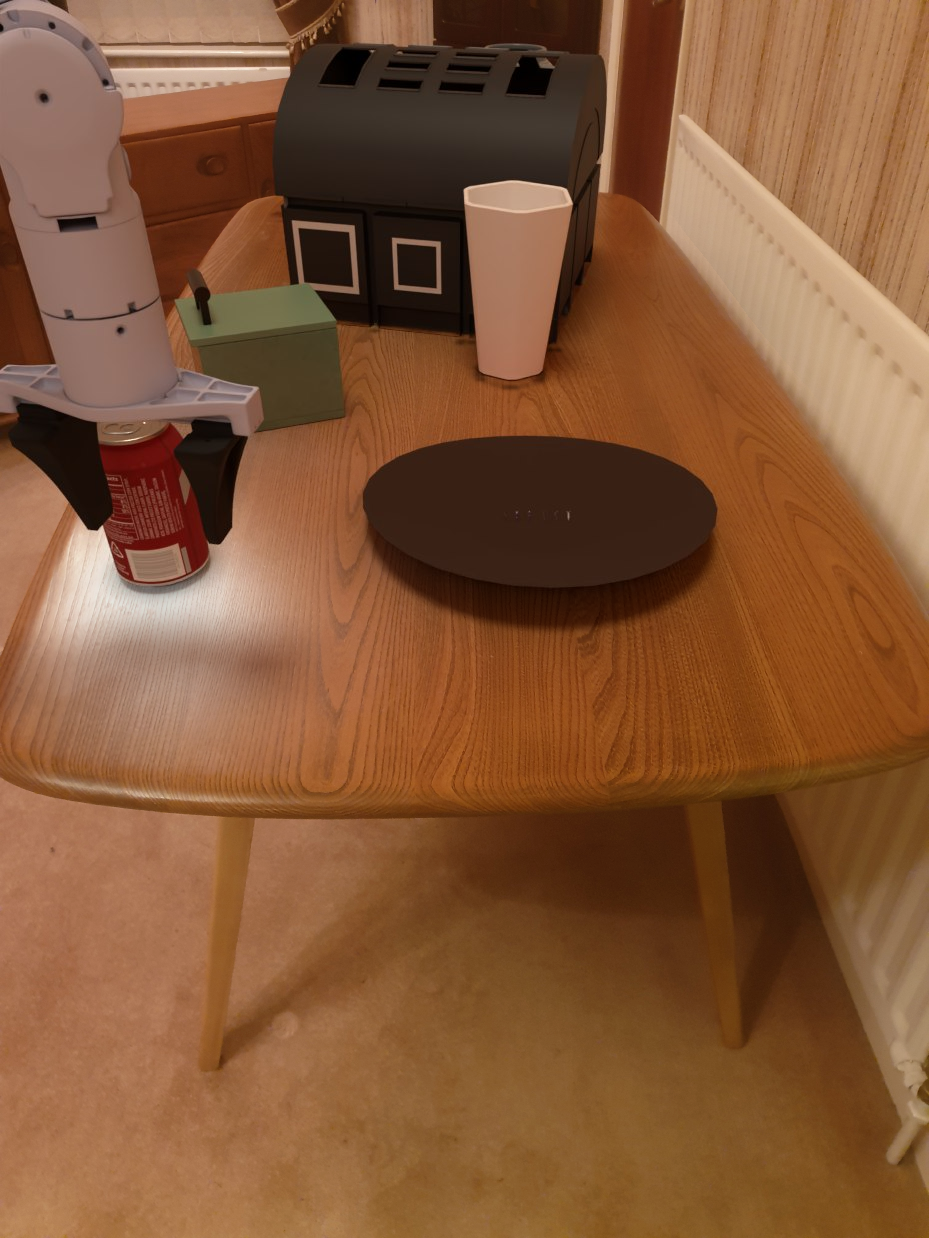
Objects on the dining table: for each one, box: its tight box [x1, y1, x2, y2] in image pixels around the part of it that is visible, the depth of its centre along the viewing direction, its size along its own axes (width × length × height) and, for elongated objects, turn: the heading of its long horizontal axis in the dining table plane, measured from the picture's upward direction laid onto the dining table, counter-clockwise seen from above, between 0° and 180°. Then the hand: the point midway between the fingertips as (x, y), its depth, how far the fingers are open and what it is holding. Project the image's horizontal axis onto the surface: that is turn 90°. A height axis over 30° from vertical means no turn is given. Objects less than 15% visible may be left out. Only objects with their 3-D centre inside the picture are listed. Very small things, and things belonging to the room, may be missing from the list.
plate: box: [362, 435, 718, 589], centre depth 69 cm, size 28×28×4 cm
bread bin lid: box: [174, 268, 338, 348], centre depth 79 cm, size 13×10×4 cm
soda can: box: [97, 420, 210, 588], centre depth 61 cm, size 7×7×12 cm
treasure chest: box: [272, 42, 608, 345], centre depth 104 cm, size 32×32×26 cm
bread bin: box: [189, 327, 346, 433], centre depth 83 cm, size 12×10×9 cm
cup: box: [464, 181, 573, 381], centre depth 88 cm, size 11×10×17 cm
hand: (160, 528), depth 52 cm, fingers open, 7 cm apart
